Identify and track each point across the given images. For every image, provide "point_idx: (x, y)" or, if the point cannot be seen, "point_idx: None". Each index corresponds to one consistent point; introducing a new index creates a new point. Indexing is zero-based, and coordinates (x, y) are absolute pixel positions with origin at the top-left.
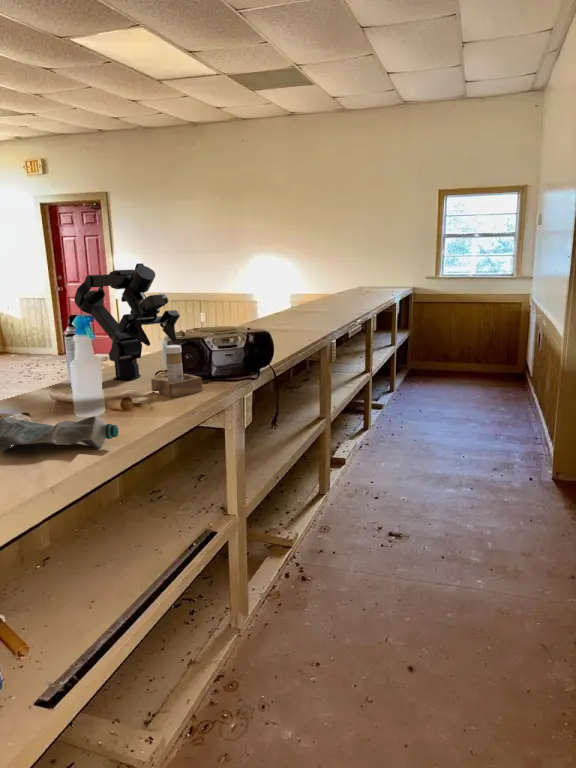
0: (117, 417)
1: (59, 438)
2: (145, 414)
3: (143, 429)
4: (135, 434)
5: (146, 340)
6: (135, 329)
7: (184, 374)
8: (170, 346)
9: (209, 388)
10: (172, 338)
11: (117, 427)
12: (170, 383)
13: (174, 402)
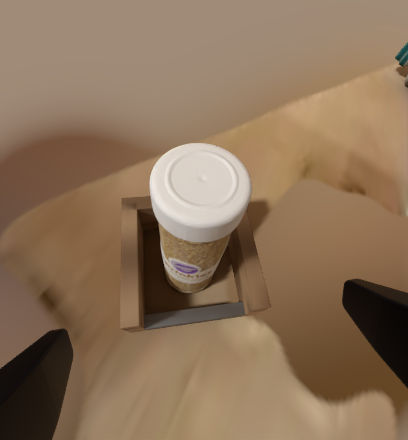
0: (379, 167)
1: None
2: (326, 150)
3: (344, 97)
4: (358, 89)
5: (398, 295)
6: None
7: (130, 283)
8: (221, 178)
9: (95, 230)
10: (53, 388)
11: (402, 48)
12: None
13: None
